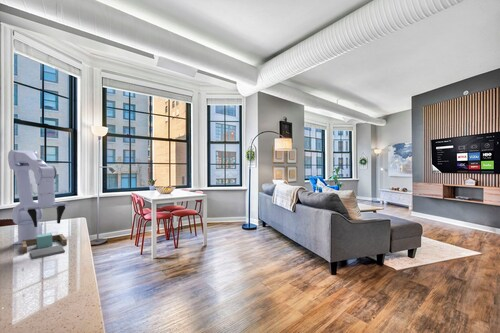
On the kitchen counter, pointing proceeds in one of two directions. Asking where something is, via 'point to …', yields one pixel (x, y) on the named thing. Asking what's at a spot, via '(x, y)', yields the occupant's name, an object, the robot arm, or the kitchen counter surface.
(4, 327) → the kitchen counter surface
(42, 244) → the teal block
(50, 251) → the charcoal mat
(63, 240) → the brown u-shaped bracket
